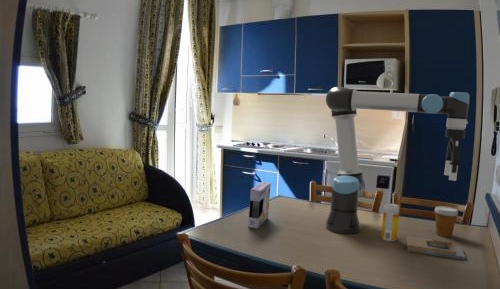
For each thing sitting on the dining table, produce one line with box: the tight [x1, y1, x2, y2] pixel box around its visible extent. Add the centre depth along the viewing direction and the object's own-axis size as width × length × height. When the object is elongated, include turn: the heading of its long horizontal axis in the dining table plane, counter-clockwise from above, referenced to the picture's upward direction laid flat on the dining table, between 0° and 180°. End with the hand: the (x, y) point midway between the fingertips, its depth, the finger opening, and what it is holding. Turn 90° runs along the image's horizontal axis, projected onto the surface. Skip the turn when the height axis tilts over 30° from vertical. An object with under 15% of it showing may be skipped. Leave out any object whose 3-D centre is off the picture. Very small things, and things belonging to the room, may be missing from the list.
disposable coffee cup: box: [434, 205, 459, 238], centre depth 174 cm, size 10×10×12 cm
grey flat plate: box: [421, 243, 466, 261], centre depth 153 cm, size 15×12×1 cm
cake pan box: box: [247, 181, 272, 230], centre depth 179 cm, size 19×5×18 cm, turn 162°
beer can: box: [381, 202, 400, 243], centre depth 164 cm, size 6×6×15 cm
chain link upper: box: [406, 235, 456, 255], centre depth 154 cm, size 17×12×2 cm
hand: (449, 177), depth 169 cm, fingers open, 13 cm apart
